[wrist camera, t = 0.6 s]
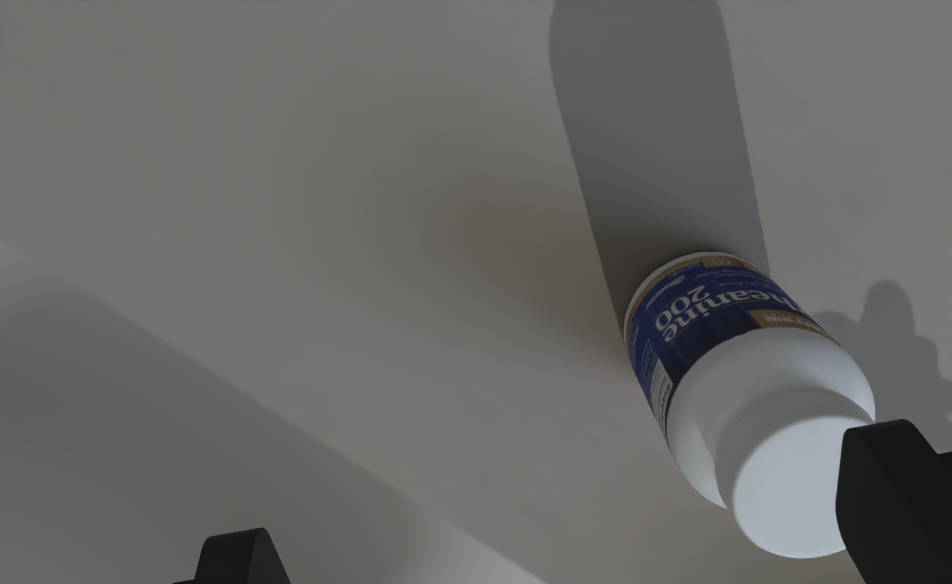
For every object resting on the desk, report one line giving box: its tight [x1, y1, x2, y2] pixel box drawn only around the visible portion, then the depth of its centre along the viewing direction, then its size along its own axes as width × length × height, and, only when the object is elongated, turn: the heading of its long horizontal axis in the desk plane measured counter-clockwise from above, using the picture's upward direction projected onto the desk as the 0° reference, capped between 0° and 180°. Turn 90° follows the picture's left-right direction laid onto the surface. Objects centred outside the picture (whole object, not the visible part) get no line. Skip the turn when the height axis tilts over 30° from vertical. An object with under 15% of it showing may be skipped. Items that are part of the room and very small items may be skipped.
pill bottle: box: [624, 252, 876, 558], centre depth 23 cm, size 5×5×10 cm
